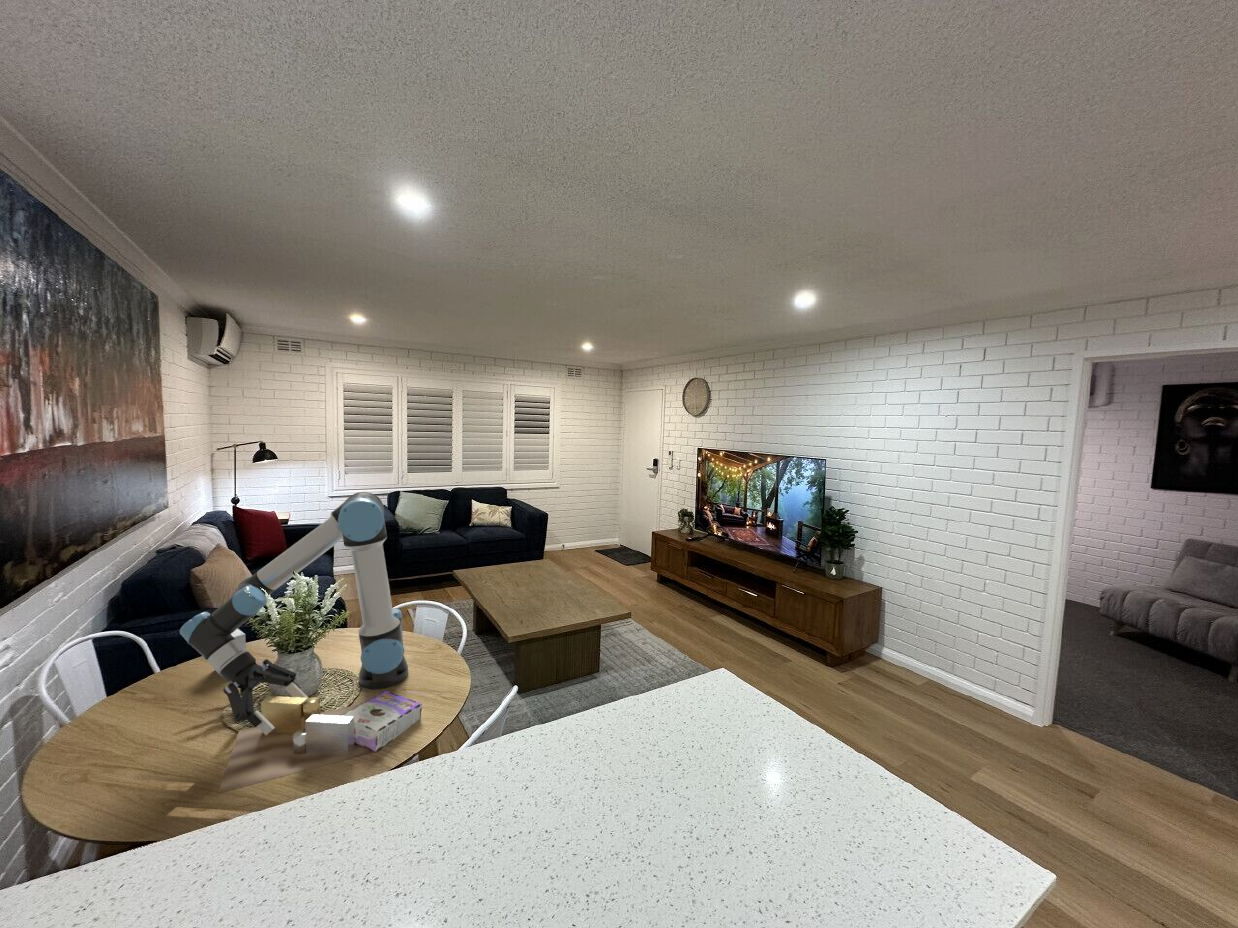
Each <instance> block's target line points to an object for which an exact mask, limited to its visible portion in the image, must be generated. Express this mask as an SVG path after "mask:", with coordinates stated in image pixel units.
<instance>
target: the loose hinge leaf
mask: <svg viewBox="0 0 1238 928" xmlns="http://www.w3.org/2000/svg"><path fill="white" fill-rule="evenodd" d="M260 708H261V709H260V710H261V712H260V713H261V714H262V715H263V716H264V717H265V718H266V719H267V720H268V721H269V722H270V723H271V724H272V725H273V726H274V727H275V728H274V729H273V730H272V731H271V732H270V733H274V734H292V735H294V734H295V733H296V732H297V731H299V730H302V729H306V728H305V721H306V720H307V719H308V718H309V717H310V716H311V715H313V714H316V715H320V713H321V699H320V697H317V696H314V697H313V696H312V697H309V698H302V697H292V696H279V695H268V696H267V697H266V698H264V699H263V700H262V701H260ZM262 733H263V732H262Z"/></svg>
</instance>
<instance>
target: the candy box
mask: <svg viewBox="0 0 1238 928" xmlns="http://www.w3.org/2000/svg"><path fill="white" fill-rule="evenodd" d="M361 704H362V705H360V706H358V707H356V708H354V709H352V710H351V711H349V712H347V713H345V714H344V715H342V716H352V717H354V743H356V744H359V745H361V746H364V747H366V748H368V749H371V750H372V752H373V751H374V752H377V751H379V750H380V749H382V748H383V747H384V746H386V745H388V744H389V743H390V742H392V741H393V740H394V739H396V738H398V736H400V735H401V734H403V732H405V731H406V730H408V729H409V728H410V727H411V726H413V725H414V724H415V723H417V722H418V721H419V720H420V719H421V717H422V709H423V704H422V703H420V702H419V701H414V700H413V699H409V698H407V697H405V696H402V695H398V694H396V693H393V692H390V691H388V690H385V691H383V692H381V693H379V694H378V695H376V696H374V697H372V698H371V699H368V700H367V701H365V702H363V703H361Z"/></svg>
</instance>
